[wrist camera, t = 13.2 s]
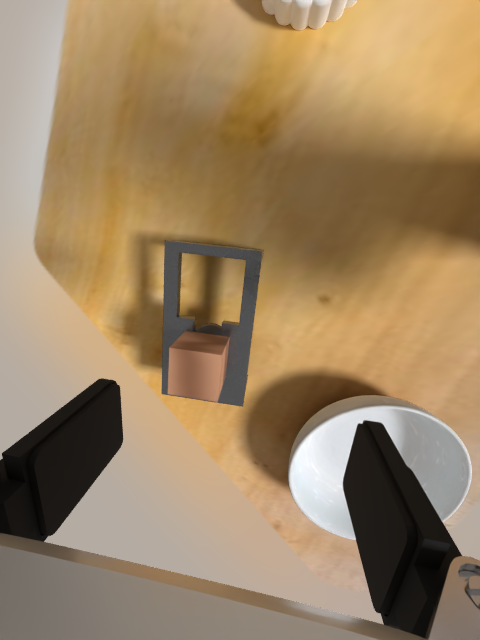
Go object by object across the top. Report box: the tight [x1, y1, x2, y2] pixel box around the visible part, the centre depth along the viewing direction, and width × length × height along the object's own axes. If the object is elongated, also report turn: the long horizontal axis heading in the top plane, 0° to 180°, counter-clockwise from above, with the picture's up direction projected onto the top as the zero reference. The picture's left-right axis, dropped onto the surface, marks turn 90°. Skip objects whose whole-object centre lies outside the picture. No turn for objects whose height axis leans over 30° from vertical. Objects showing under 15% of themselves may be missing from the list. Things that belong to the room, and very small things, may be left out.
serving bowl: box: [288, 395, 472, 540], centre depth 35 cm, size 21×21×7 cm
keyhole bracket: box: [162, 241, 263, 406], centre depth 32 cm, size 18×10×6 cm, turn 174°
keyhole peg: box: [168, 324, 230, 402], centre depth 29 cm, size 5×5×8 cm
